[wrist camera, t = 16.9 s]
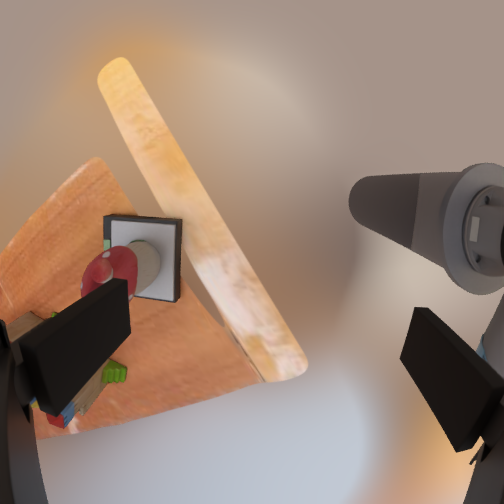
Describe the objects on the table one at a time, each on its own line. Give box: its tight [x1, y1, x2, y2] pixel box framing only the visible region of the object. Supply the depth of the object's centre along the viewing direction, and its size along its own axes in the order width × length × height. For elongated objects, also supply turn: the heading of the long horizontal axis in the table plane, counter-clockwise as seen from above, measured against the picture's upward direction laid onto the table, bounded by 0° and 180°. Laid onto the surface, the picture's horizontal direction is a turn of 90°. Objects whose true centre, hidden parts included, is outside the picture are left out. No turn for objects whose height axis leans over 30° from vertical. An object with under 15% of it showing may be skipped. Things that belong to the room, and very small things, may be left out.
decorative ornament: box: [81, 240, 161, 302], centre depth 35 cm, size 9×6×15 cm
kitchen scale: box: [103, 214, 182, 303], centre depth 44 cm, size 12×12×3 cm
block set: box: [6, 312, 127, 429], centre depth 41 cm, size 28×14×19 cm, turn 69°
